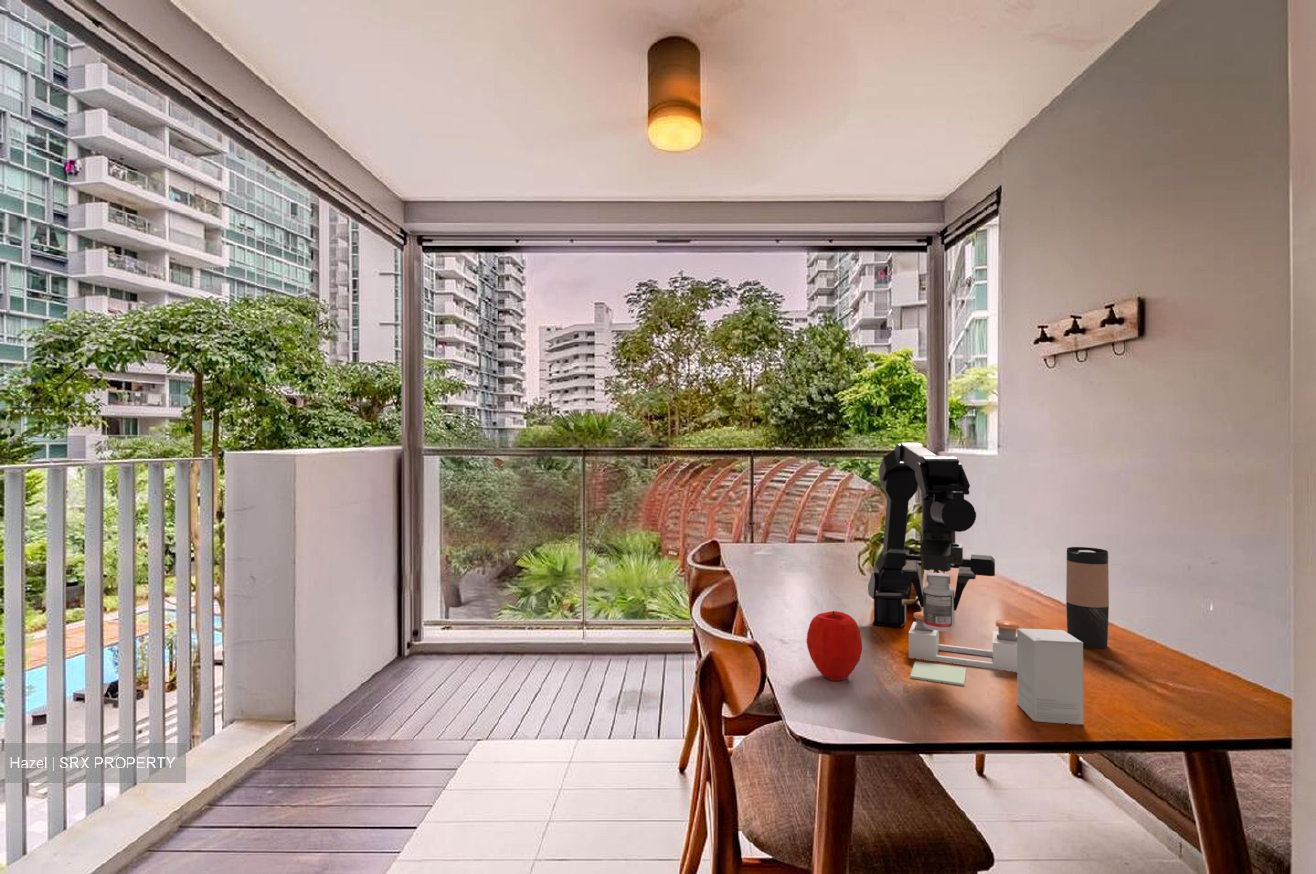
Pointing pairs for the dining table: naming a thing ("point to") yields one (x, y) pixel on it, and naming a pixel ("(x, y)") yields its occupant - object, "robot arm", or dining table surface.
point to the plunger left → (920, 622)
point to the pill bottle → (938, 603)
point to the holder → (962, 650)
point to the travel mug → (1087, 596)
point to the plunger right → (1007, 630)
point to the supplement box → (1050, 675)
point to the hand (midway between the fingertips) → (938, 608)
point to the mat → (938, 673)
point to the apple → (834, 644)
